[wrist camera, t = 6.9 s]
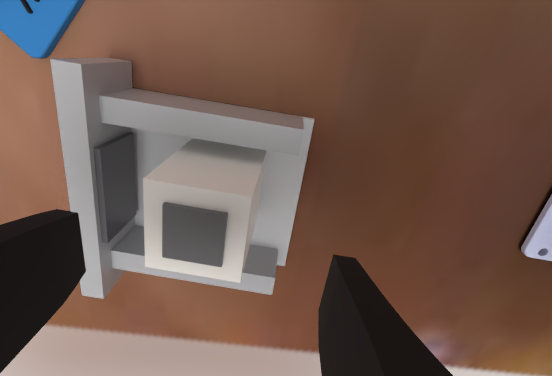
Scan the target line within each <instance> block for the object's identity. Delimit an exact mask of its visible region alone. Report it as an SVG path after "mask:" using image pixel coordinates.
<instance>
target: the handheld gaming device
mask: <svg viewBox="0 0 552 376" xmlns="http://www.w3.org/2000/svg"><path fill="white" fill-rule="evenodd" d="M84 1H85V0H0V30H1V31H2V32H3V33H5V34H6V35H7V36H8V37H9V38H10V39H11V40H12V41H14V42H15V43H16V44H17V45H18V46H19V47H20V48H22V49H23V50H24V51H25V52H26V53H27V54H28V55H30V56H31V57H34V58H46V57H48V56H49V55H50V54H51V52H52V51H53V49H54V48H55V46H56V45H57V43H58V41H59V40H60V38H61V37H62V35H63V34H64V32H65V31H66V29H67V28H68V26H69V24H70V23H71V21H72V20H73V18H74V17H75V15H76V14H77V12H78V10H79V9H80V7H81V6H82V4H83V3H84Z"/></svg>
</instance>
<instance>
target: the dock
mask: <svg viewBox="0 0 552 376" xmlns="http://www.w3.org/2000/svg"><path fill="white" fill-rule="evenodd" d="M50 60H51V68H52V75H53V83H54V90H55V98H56V105H57V113H58V120H59V128H60V135H61V143H62V150H63V158H64V165H65V173H66V180H67V188H68V195H69V203H70V210H71V212H76V213H78V214H79V222H80V229H81V237H82V245H83V252H84V260H85V267H86V272H85V274H84V275H83V277H82V278H81V280H80V285H81V292H82V295H84V296H90V297H95V298H101V299H104V298H105V297H106V295H107V294H108V293H109V291H110V290H111V289H112V288H113V286H114V285H115V284H116V283H117V281H118V280H119V279H120V278H121V276H122V275H123V274H124V273H125V271H132V272H138V273H144V274H150V275H156V276H162V277H168V278H174V279H180V280H186V281H192V282H198V283H204V284H209V285H215V286H221V287H227V288H233V289H239V290H245V291H251V292H257V293H263V294H269V295H272V292H273V287H274V282H275V275H276V266H277V265H280V266H285V262H286V257H287V252H288V247H289V242H290V237H291V233H292V228H293V223H294V218H295V213H296V208H297V203H298V198H299V193H300V188H301V183H302V179H303V174H304V169H305V164H306V159H307V154H308V149H309V144H310V139H311V134H312V130H313V125H314V118H309V117H303V116H297V115H291V114H285V113H279V112H273V111H267V110H261V109H255V108H249V107H243V106H237V105H231V104H225V103H219V102H213V101H208V100H202V99H196V98H190V97H184V96H178V95H172V94H166V93H160V92H154V91H148V90H142V89H136V88H133V83H132V61H127V60H121V59H115V58H109V57H103V58H68V59H50ZM192 138H196V139H201V140H207V141H213V142H219V143H225V144H231V145H237V146H243V147H249V148H255V149H261V150H267V155H266V162H265V169H264V175H263V182H262V189H261V196H260V202H259V209H258V215H257V219H256V223H255V227H254V231H253V235H252V239H251V242H250V246H249V250H248V254H247V258H246V262H245V266H244V270H243V274H242V278H241V282H240V283H237V282H231V281H225V280H220V279H214V278H208V277H202V276H196V275H190V274H184V273H178V272H172V271H166V270H161V269H155V268H149V267H145V245H144V201H143V178H144V177H146V176H147V175H148V174H149V173H151V172H152V171H153V170H154V169H156V168H157V167H158V166H159V165H160V164H162V163H163V162H164V161H165V160H167V159H168V158H169V157H170V156H172V155H173V154H174V153H175V152H176V151H178V150H179V149H180V148H181V147H183V146H184V145H185V144H186V143H187V142H189V141H190V140H191V139H192Z"/></svg>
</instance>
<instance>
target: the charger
mask: <svg viewBox="0 0 552 376" xmlns="http://www.w3.org/2000/svg"><path fill="white" fill-rule="evenodd" d="M266 155H267V150H261V149H255V148H249V147H243V146H237V145H231V144H225V143H219V142H213V141H207V140H201V139H196V138H192V139H191V140H190V141H189V142H187V143H186V144H185V145H184V146H183V147H181V148H180V149H179V150H178V151H176V152H175V153H174V154H173V155H172V156H170V157H169V158H168V159H167V160H165V161H164V162H163V163H162V164H160V165H159V166H158V167H157V168H156V169H154V170H153V171H152V172H151V173H149V174H148V175H147V176H146V177H144V178H143V201H144V245H145V267H149V268H155V269H161V270H166V271H172V272H178V273H184V274H190V275H196V276H202V277H208V278H214V279H220V280H225V281H231V282H237V283H240V282H241V278H242V274H243V270H244V266H245V262H246V258H247V254H248V250H249V246H250V242H251V239H252V235H253V231H254V227H255V223H256V219H257V215H258V209H259V202H260V196H261V189H262V182H263V175H264V169H265V162H266Z"/></svg>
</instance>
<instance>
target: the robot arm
mask: <svg viewBox="0 0 552 376" xmlns="http://www.w3.org/2000/svg"><path fill="white" fill-rule="evenodd" d="M541 249H542V250H541ZM540 250H541V251H540ZM521 251H522V252H523V253H524V254H525V255H526V256H527V257H530V258H536V259H542V260H548V261H552V194H551V196H550V198H549V200H548V201H547V203H546V205H545V207H544V208H543V210H542V212H541V214H540V215H539V217H538V219H537V220H536V222H535V224H534V226H533V227H532V229H531V231H530V233H529V234H528V236H527V238H526V240H525V241H524V243H523V245H522V247H521ZM539 251H540V252H539ZM85 272H86V267H85V260H84V252H83V245H82V237H81V229H80V222H79V214H78V213H76V212H70V211H64V210H58V209H56V210H52V211H47V212H43V213H39V214H35V215H32V216H28V217H25V218H22V219H18V220H15V221H12V222H8V223H5V224H2V225H0V373H1V372H2V371H3V370H4V368H5V367H6V366H7V365H8V364H9V363H10V362H11V361H12V360H13V359H14V358H15V356H16V355H17V354H18V353H19V352H20V351H21V350H22V349H23V348H24V347H25V346H26V344H27V343H28V342H29V341H30V340H31V339H32V338H33V337H34V336H35V335H36V334H37V333H38V331H39V330H40V329H41V328H42V327H43V326H44V325H45V324H46V323H47V321H48V320H49V319H50V318H51V317H52V316H53V315H54V314H55V313H56V311H57V310H58V309H59V308H60V307H61V306H62V305H63V303H64V302H65V301H66V299H67V298H68V297H69V295H70V294H71V293H72V291H73V290H74V288H75V287H76V286H77V284H78V283H79V281H80V280H81V278H82V277H83V275H84V274H85ZM319 354H320V363H321V372H322V376H453V375H452V374H451V373H450V372H449V371H448V370H447V369H446V368H445V367H444V366H443V365H442V364H441V363H440V362H439V360H438V359H437V358H436V357H435V356H434V355H433V354H432V353H431V352H430V350H429V349H428V348H427V347H426V346H425V345H424V344H423V343H422V341H421V340H420V339H419V338H418V337H417V336H416V335H415V334H414V332H413V331H412V330H411V329H410V328H409V327H408V325H407V324H406V323H405V322H404V321H403V319H402V318H401V317H400V316H399V314H398V313H397V312H396V311H395V309H394V308H393V307H392V306H391V304H390V303H389V302H388V301H387V299H386V298H385V297H384V295H383V294H382V293H381V292H380V290H379V289H378V288H377V286H376V285H375V284H374V282H373V281H372V280H371V278H370V277H369V276H368V274H367V273H366V272H365V270H364V269H363V268H362V266H361V265H360V264H359V262H358V261H357V260H356V258H351V257H345V256H339V255H333V258H332V262H331V266H330V269H329V273H328V277H327V280H326V284H325V288H324V292H323V295H322V299H321V303H320V307H319Z"/></svg>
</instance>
